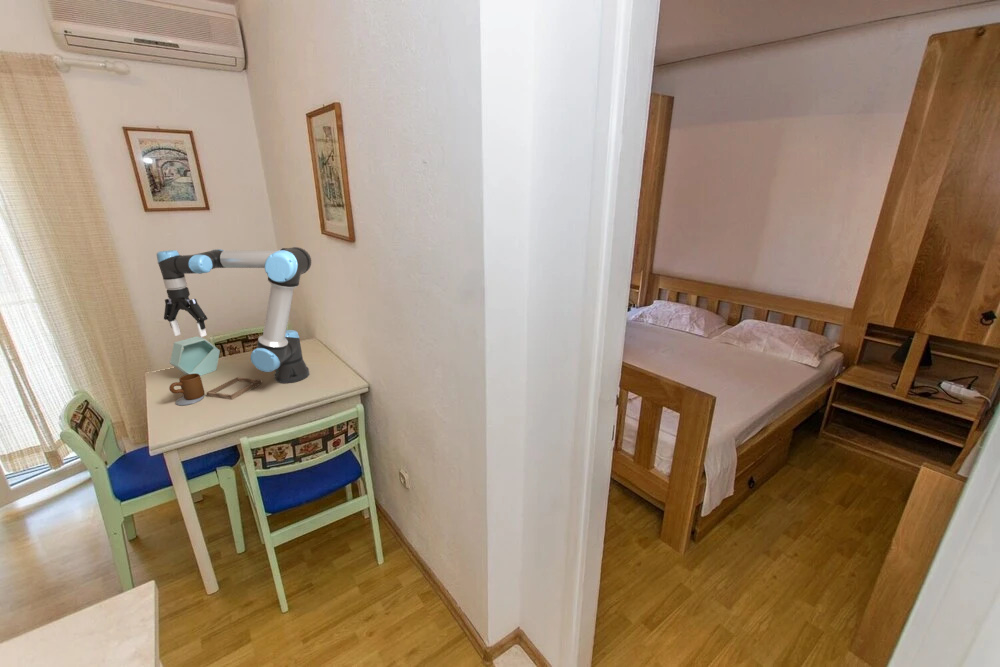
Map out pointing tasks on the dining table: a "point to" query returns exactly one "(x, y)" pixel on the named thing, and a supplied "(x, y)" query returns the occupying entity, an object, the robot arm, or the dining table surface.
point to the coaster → (187, 401)
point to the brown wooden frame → (218, 395)
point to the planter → (195, 356)
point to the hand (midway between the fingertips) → (190, 335)
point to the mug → (189, 386)
